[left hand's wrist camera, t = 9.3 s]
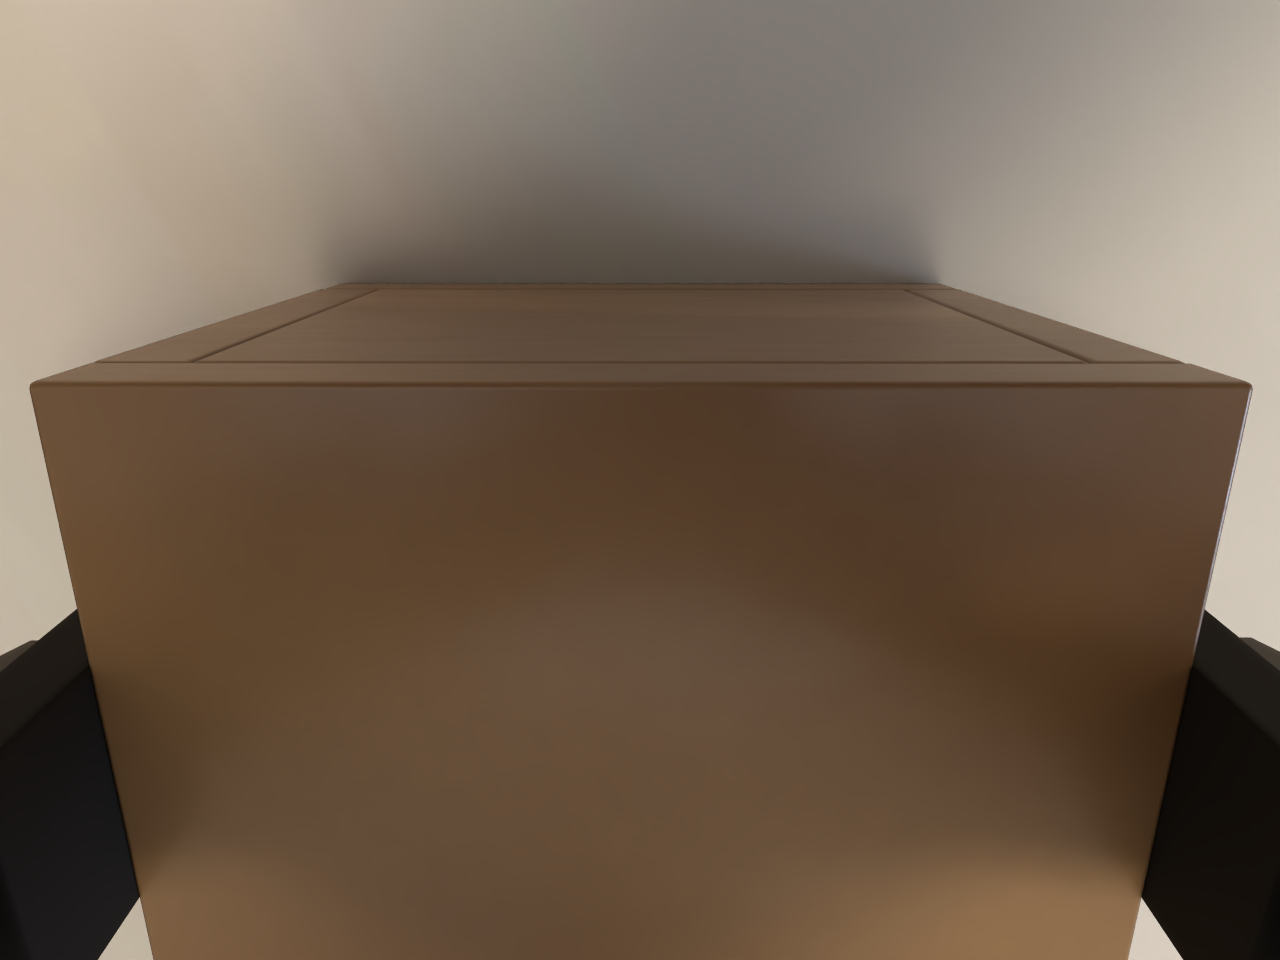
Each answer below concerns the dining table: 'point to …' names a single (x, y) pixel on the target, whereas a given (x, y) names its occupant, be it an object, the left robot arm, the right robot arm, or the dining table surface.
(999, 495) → the brown wooden box
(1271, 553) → the dining table surface
